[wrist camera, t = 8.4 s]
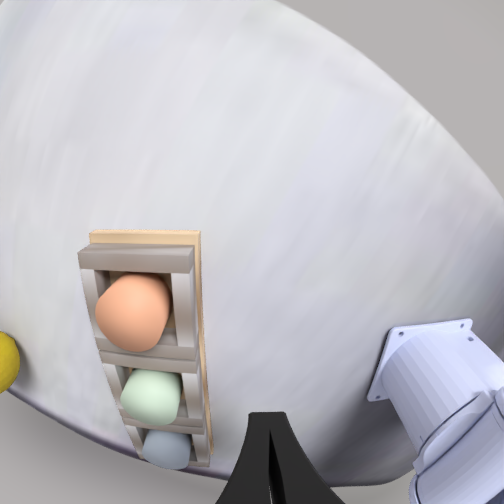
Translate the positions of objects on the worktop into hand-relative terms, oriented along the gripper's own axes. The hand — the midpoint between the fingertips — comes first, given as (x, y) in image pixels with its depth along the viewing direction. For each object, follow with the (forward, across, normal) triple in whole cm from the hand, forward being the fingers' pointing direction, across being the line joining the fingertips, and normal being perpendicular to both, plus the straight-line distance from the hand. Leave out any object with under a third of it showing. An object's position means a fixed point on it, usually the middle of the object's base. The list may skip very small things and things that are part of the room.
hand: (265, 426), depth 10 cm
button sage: (+8, +7, +6) cm, 12 cm away
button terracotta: (+8, +7, -1) cm, 11 cm away
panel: (+10, +7, +6) cm, 13 cm away
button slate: (+8, +7, +13) cm, 17 cm away
